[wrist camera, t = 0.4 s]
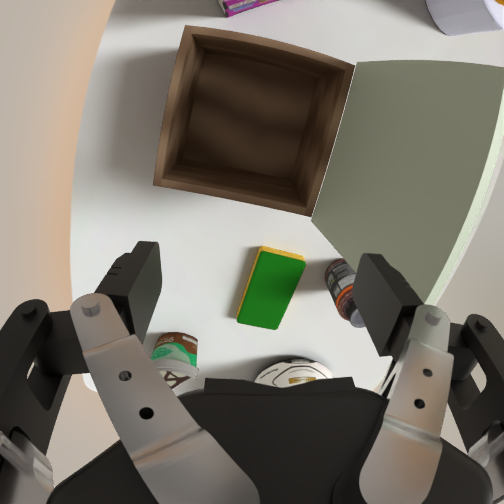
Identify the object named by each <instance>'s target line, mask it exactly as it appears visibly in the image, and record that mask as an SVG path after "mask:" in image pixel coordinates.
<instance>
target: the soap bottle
mask: <svg viewBox="0 0 504 504" xmlns="http://www.w3.org/2000/svg"><path fill="white" fill-rule="evenodd" d="M426 4H427V8H428V10H429V12H430V14H431V16H432V18H433V20H434V22H435V23H436V24H437V26H438V27H439V29H440V30H441V31H443V32H444V33H445V34H447V35H448V36H460V35H467V34H474V33H483V32H493V31H504V0H426Z"/></svg>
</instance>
